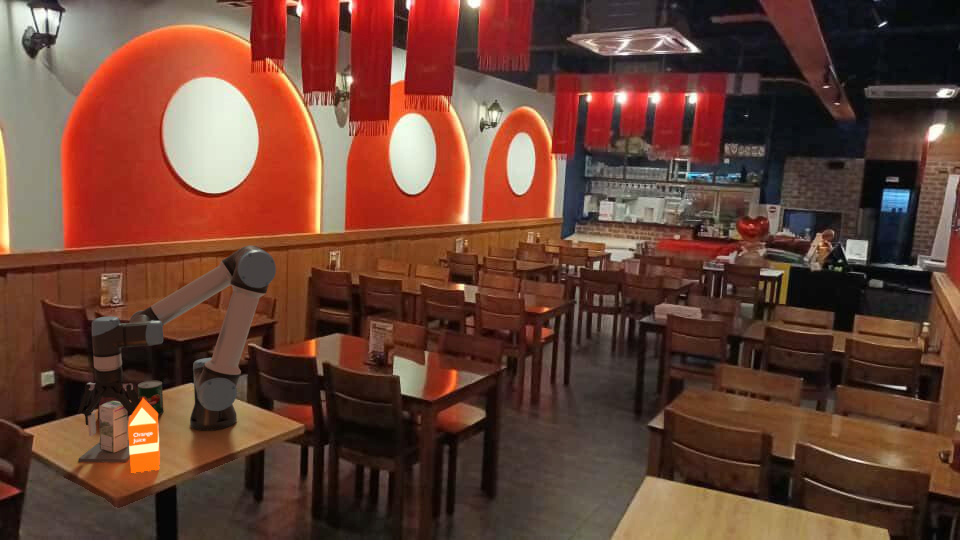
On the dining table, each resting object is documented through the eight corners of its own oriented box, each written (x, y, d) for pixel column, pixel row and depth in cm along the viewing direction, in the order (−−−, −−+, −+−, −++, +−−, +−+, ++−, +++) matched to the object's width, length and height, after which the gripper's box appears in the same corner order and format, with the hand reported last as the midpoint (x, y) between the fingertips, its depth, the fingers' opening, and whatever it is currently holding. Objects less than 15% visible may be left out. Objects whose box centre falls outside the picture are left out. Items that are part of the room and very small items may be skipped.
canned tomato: (159, 407, 251) (158, 379, 249) (166, 413, 245) (165, 384, 244) (136, 412, 246) (134, 383, 244) (143, 419, 240) (141, 389, 238)
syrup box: (128, 446, 215) (128, 402, 213) (113, 453, 209) (113, 408, 207) (114, 443, 216) (114, 399, 214) (98, 450, 211) (98, 405, 209)
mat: (146, 443, 220) (146, 440, 220) (125, 462, 206) (125, 459, 206) (102, 442, 220) (102, 439, 220) (78, 461, 206) (78, 458, 206)
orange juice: (130, 474, 199) (126, 408, 196) (132, 461, 207) (128, 398, 204) (160, 469, 202) (156, 405, 199) (160, 457, 210) (157, 395, 207)
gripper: (153, 364, 213) (156, 430, 216) (75, 363, 212) (80, 429, 215) (142, 371, 205) (146, 440, 209) (61, 370, 205) (66, 439, 208)
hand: (112, 434), depth 212 cm, fingers open, 11 cm apart
